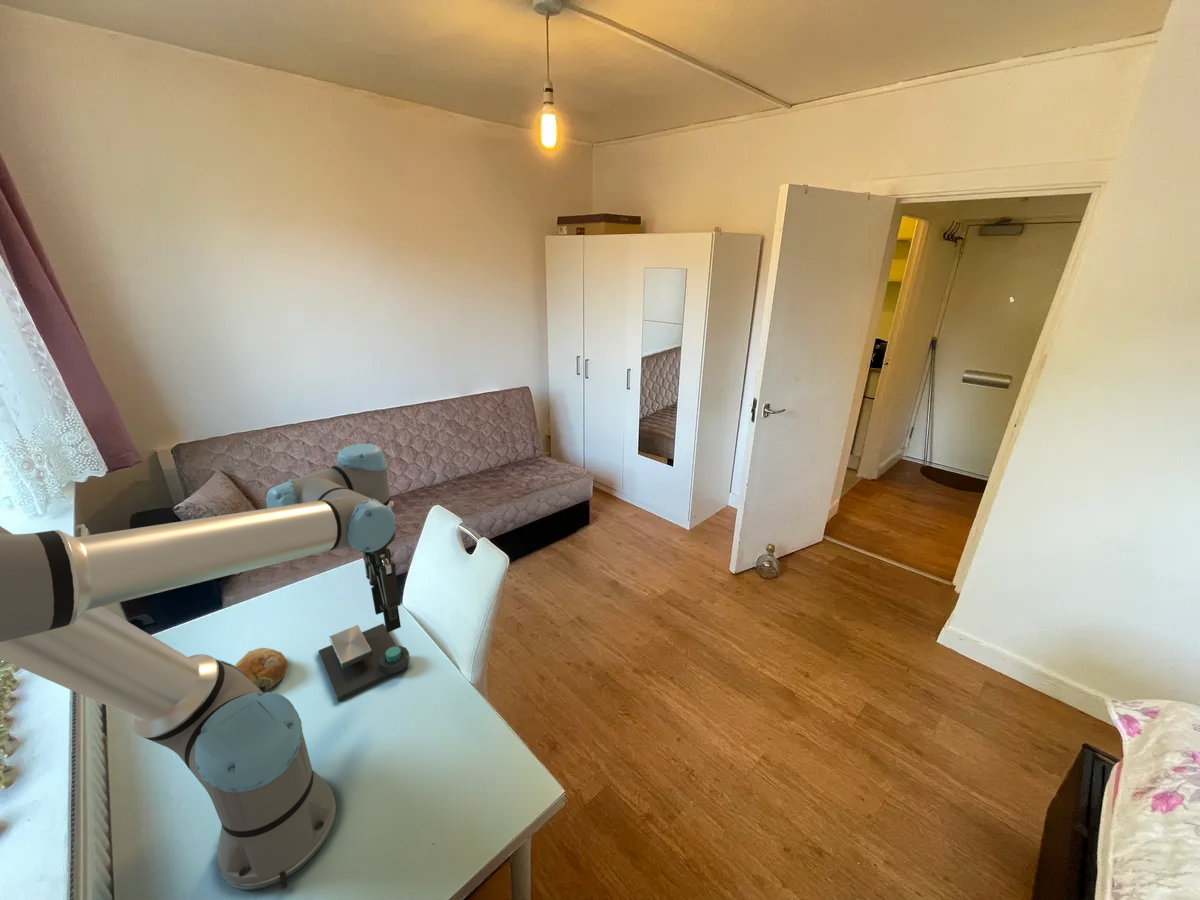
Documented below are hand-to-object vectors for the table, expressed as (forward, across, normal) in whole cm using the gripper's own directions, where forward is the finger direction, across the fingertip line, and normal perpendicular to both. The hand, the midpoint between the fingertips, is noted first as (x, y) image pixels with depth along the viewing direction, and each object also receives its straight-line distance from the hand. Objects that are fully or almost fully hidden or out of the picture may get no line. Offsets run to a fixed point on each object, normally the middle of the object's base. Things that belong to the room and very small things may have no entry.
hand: (387, 619), depth 102 cm
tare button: (+10, 0, 0) cm, 10 cm away
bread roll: (+13, +14, +23) cm, 30 cm away
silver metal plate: (+10, +8, +7) cm, 14 cm away
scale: (+13, +6, +5) cm, 15 cm away
